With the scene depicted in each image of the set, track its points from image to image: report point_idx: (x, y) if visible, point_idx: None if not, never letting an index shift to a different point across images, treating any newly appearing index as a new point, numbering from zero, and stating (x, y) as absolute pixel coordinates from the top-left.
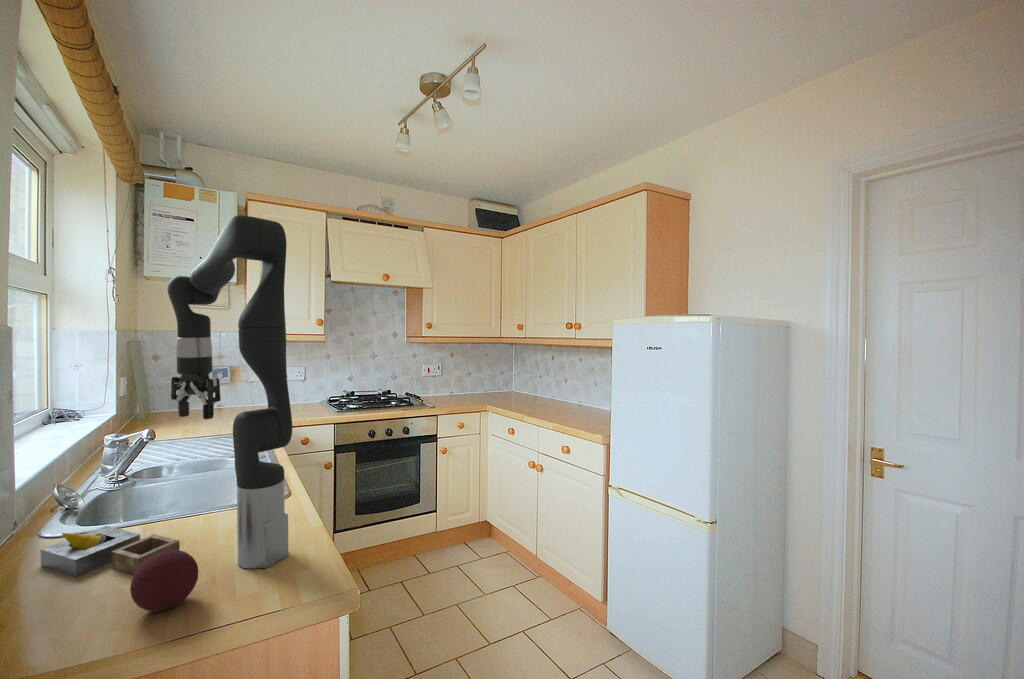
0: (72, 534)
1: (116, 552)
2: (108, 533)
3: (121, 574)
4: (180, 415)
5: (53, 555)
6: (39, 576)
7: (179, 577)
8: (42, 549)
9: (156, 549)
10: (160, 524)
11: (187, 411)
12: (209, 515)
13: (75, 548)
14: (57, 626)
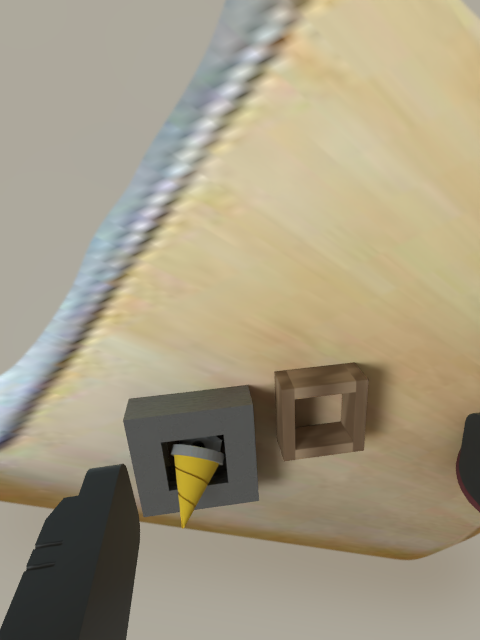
0: (190, 510)
1: (297, 458)
2: (180, 434)
3: None
4: (137, 548)
5: None
6: None
7: None
8: (147, 515)
9: (360, 419)
10: (140, 299)
11: (116, 514)
12: (202, 197)
13: None
14: (378, 522)
